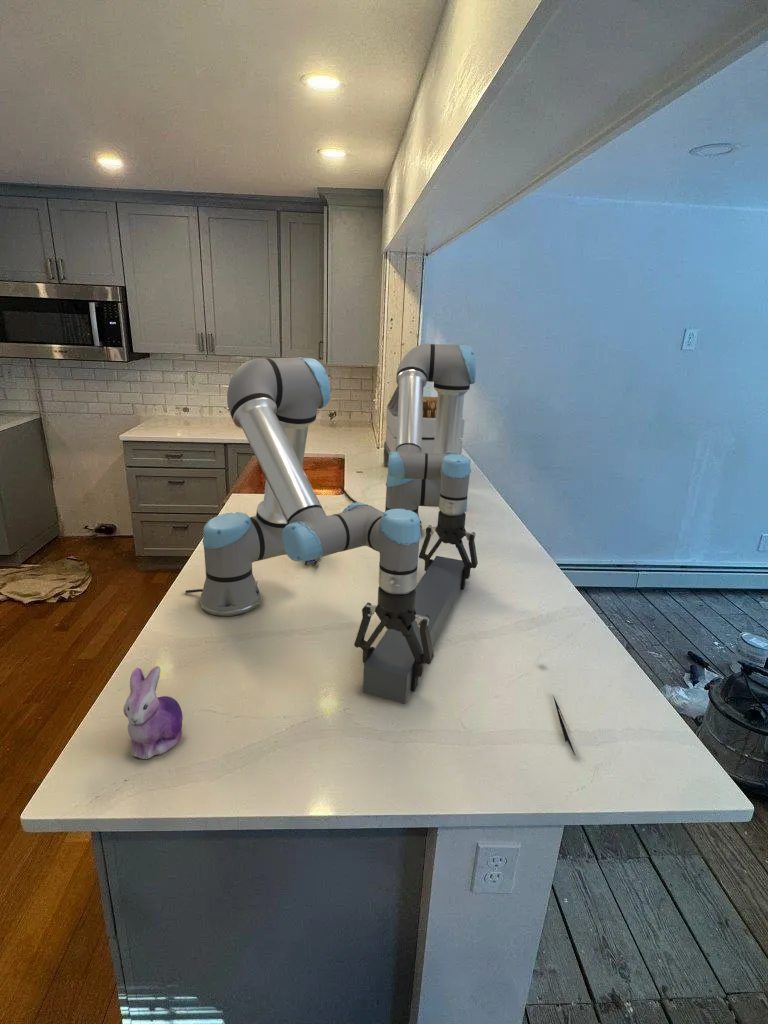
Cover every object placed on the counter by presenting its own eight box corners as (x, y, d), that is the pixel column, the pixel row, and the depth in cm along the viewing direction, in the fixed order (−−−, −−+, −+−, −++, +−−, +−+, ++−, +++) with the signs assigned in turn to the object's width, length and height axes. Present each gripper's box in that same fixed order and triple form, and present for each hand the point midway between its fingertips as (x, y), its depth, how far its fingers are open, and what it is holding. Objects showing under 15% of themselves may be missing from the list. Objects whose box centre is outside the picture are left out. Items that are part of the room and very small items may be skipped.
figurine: (131, 770, 95) (121, 695, 90) (126, 731, 103) (116, 661, 98) (190, 752, 99) (183, 680, 94) (180, 716, 108) (173, 648, 102)
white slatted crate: (382, 463, 289) (386, 382, 275) (445, 464, 293) (451, 384, 279) (390, 482, 257) (394, 392, 243) (460, 483, 261) (468, 394, 247)
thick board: (434, 576, 169) (436, 555, 167) (465, 582, 167) (467, 561, 164) (362, 692, 117) (363, 665, 115) (405, 704, 114) (407, 675, 112)
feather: (542, 671, 128) (548, 665, 128) (575, 760, 102) (582, 753, 101) (536, 667, 128) (542, 661, 128) (567, 755, 102) (574, 748, 101)
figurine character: (321, 573, 171) (325, 548, 184) (321, 551, 168) (325, 527, 181) (299, 572, 171) (304, 547, 184) (298, 550, 167) (304, 526, 181)
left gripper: (338, 584, 112) (337, 679, 120) (446, 606, 106) (437, 705, 113) (353, 569, 119) (350, 660, 126) (455, 589, 112) (446, 684, 120)
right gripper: (410, 509, 156) (405, 583, 163) (489, 522, 149) (481, 597, 157) (417, 501, 162) (413, 572, 170) (494, 513, 156) (485, 586, 163)
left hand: (391, 681), depth 120 cm, fingers closed on thick board, 9 cm apart
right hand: (445, 584), depth 163 cm, fingers closed on thick board, 9 cm apart
